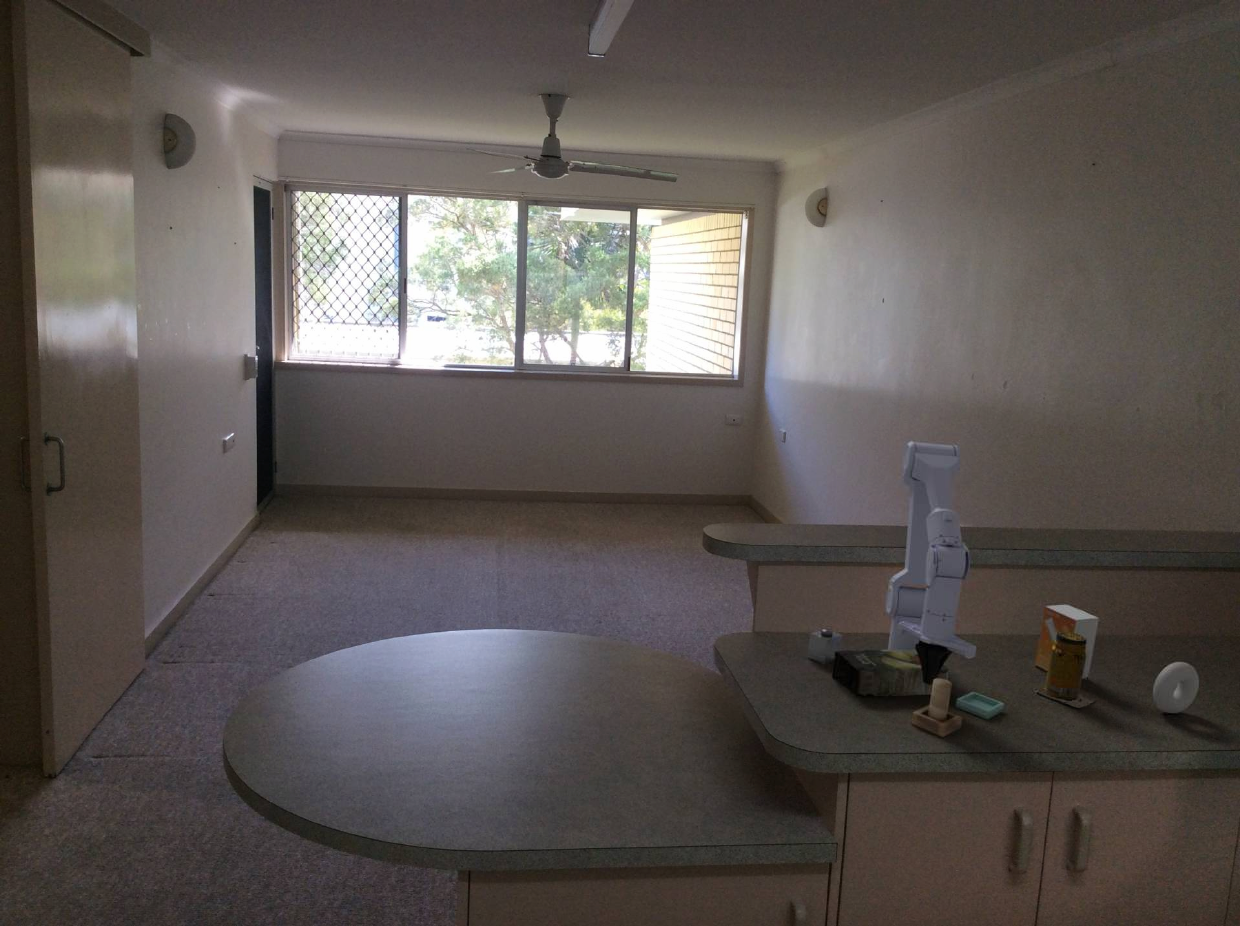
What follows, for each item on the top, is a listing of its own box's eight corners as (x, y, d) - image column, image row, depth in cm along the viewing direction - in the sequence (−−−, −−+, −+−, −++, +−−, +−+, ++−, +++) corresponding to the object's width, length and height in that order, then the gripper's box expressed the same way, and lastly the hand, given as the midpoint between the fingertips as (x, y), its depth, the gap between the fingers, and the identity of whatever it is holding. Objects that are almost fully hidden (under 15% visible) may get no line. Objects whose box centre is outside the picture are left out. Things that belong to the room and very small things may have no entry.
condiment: (1053, 685, 194) (1063, 627, 192) (1096, 702, 188) (1107, 642, 185) (1034, 693, 190) (1044, 633, 187) (1077, 710, 183) (1088, 648, 181)
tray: (971, 699, 184) (973, 691, 184) (1002, 711, 180) (1004, 703, 180) (955, 706, 180) (956, 699, 180) (986, 719, 176) (988, 711, 175)
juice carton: (922, 673, 195) (927, 644, 194) (952, 695, 186) (956, 664, 184) (829, 678, 189) (833, 648, 188) (855, 701, 180) (859, 669, 179)
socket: (929, 714, 176) (930, 704, 175) (960, 728, 171) (962, 717, 171) (911, 723, 171) (912, 712, 171) (942, 737, 167) (944, 725, 167)
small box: (1033, 666, 203) (1044, 605, 201) (1057, 663, 206) (1067, 603, 203) (1064, 682, 196) (1076, 619, 194) (1088, 679, 199) (1100, 617, 196)
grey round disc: (1160, 720, 182) (1171, 668, 180) (1144, 712, 185) (1154, 661, 183) (1197, 714, 186) (1207, 663, 184) (1180, 706, 189) (1190, 656, 187)
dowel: (932, 720, 173) (939, 677, 172) (948, 726, 171) (955, 683, 170) (923, 724, 171) (930, 680, 170) (939, 731, 169) (946, 687, 168)
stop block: (822, 652, 201) (825, 624, 200) (838, 658, 198) (842, 631, 197) (807, 657, 198) (810, 629, 197) (824, 664, 195) (827, 635, 194)
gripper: (892, 602, 181) (882, 673, 184) (966, 627, 171) (954, 702, 173) (913, 596, 186) (902, 665, 188) (986, 620, 176) (974, 692, 178)
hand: (929, 682), depth 181 cm, fingers closed
